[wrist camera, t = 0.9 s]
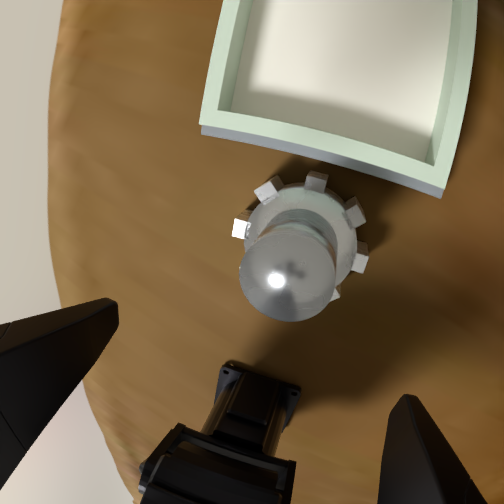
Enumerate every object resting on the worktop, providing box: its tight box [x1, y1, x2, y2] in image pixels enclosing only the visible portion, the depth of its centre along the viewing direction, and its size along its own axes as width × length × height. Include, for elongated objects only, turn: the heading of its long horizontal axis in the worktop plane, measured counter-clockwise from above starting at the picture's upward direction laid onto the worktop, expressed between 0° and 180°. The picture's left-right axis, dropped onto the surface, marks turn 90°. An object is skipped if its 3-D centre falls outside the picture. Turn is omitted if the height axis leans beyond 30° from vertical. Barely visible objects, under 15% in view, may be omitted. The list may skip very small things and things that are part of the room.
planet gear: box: [232, 171, 369, 322], centre depth 16 cm, size 7×7×6 cm
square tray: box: [199, 0, 478, 199], centre depth 12 cm, size 13×13×4 cm
